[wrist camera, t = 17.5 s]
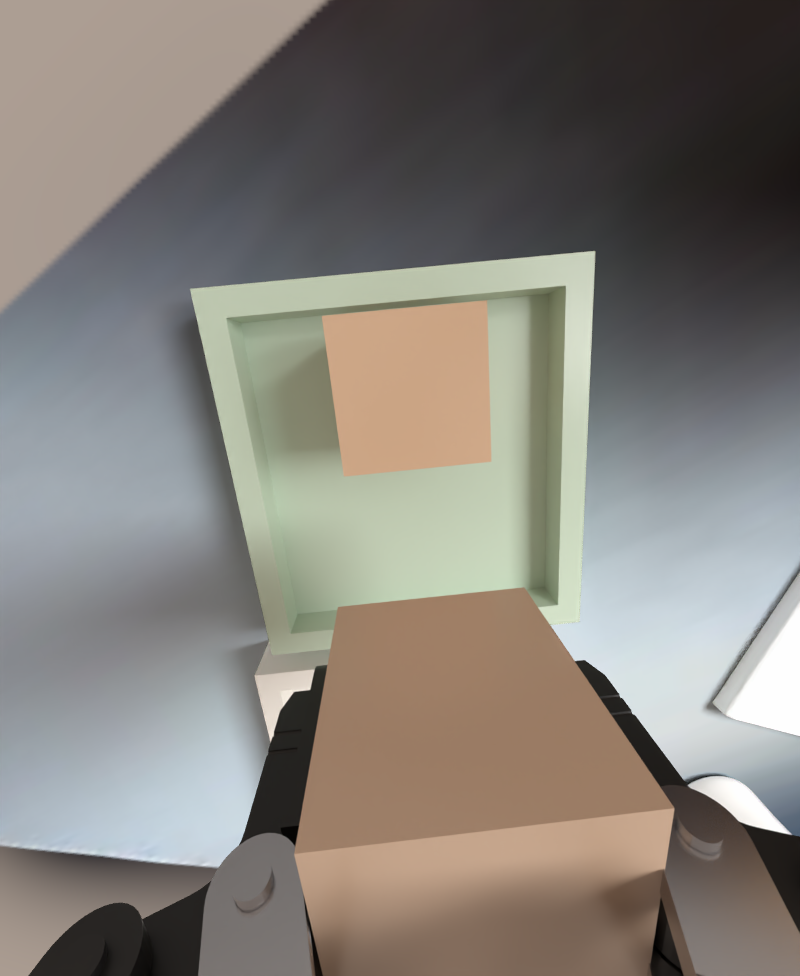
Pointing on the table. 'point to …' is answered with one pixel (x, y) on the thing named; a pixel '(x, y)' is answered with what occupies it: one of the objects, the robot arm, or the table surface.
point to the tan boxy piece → (410, 387)
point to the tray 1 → (284, 679)
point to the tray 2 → (411, 493)
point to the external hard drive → (769, 672)
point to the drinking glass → (738, 802)
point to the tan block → (474, 801)
